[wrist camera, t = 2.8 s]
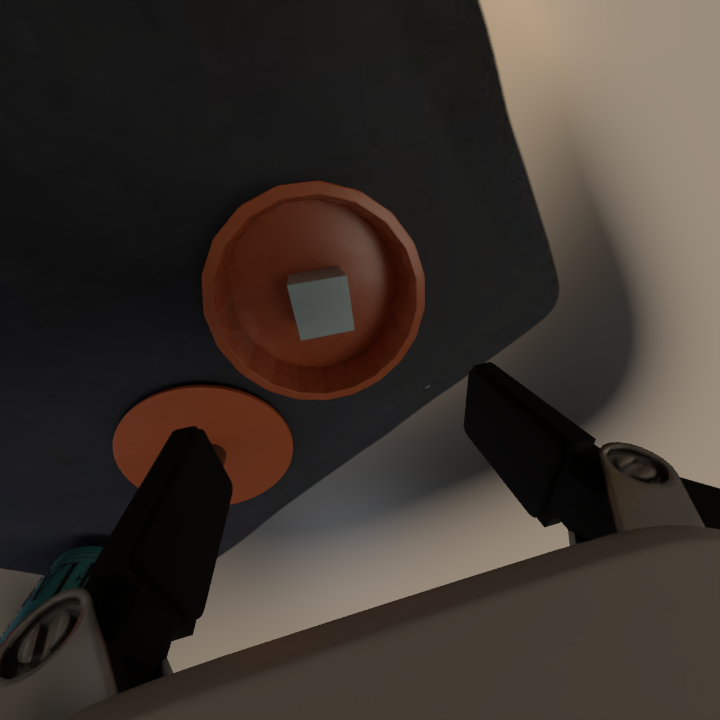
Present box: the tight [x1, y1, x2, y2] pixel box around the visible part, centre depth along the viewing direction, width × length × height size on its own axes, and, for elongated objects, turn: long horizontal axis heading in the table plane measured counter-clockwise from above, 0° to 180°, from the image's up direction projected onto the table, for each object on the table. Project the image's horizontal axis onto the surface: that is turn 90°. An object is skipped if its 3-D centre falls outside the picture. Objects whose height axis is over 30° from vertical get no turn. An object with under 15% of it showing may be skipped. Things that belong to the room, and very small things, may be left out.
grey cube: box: [287, 266, 355, 341], centre depth 21 cm, size 4×4×4 cm
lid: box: [113, 385, 293, 504], centre depth 25 cm, size 16×16×7 cm
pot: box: [201, 180, 425, 400], centre depth 21 cm, size 15×15×5 cm
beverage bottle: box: [0, 546, 103, 645], centre depth 23 cm, size 6×7×20 cm
